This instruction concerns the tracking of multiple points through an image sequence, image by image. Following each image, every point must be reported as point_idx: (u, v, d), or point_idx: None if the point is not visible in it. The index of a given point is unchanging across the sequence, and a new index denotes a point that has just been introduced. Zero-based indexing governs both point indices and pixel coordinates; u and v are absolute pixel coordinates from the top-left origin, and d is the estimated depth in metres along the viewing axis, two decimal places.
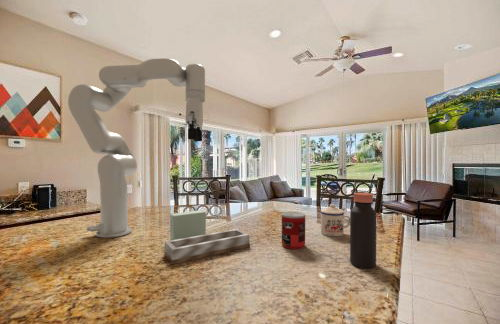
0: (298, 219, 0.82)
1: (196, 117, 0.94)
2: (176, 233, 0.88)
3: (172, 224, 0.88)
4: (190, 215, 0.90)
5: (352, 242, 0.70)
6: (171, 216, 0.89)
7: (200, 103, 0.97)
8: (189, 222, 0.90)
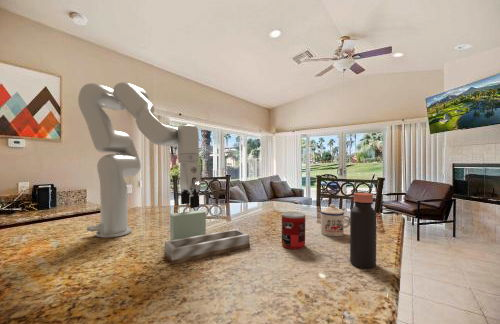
0: (298, 219, 0.82)
1: None
2: (176, 233, 0.88)
3: (172, 224, 0.88)
4: (190, 215, 0.90)
5: (352, 242, 0.70)
6: (171, 216, 0.89)
7: (180, 167, 0.92)
8: (189, 222, 0.90)
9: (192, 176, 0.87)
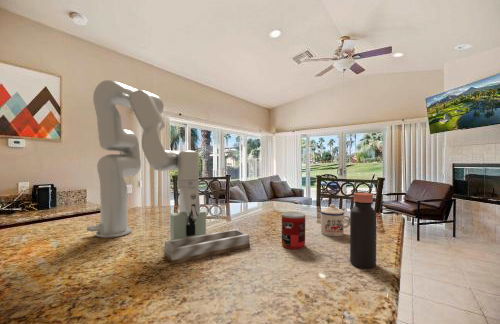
0: (298, 219, 0.82)
1: None
2: (176, 233, 0.88)
3: (172, 224, 0.88)
4: (190, 215, 0.90)
5: (352, 242, 0.70)
6: (171, 216, 0.89)
7: (180, 192, 0.92)
8: None
9: (192, 202, 0.88)
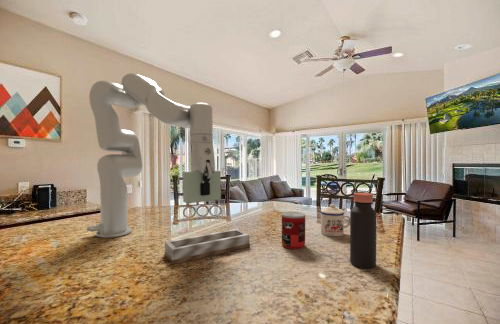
0: (298, 219, 0.82)
1: None
2: (190, 191, 0.80)
3: (185, 182, 0.81)
4: (204, 173, 0.83)
5: (352, 242, 0.70)
6: (184, 173, 0.82)
7: (193, 149, 0.85)
8: None
9: (206, 158, 0.80)
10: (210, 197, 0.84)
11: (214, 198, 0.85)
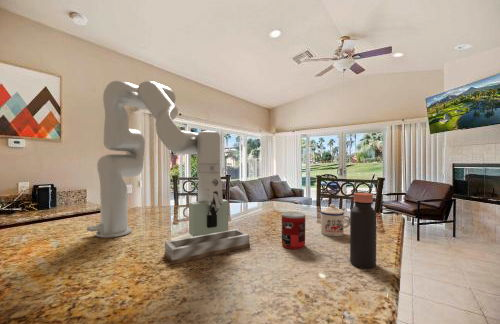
0: (298, 219, 0.82)
1: None
2: (196, 224, 0.77)
3: (192, 214, 0.78)
4: (211, 204, 0.80)
5: (352, 242, 0.70)
6: (190, 205, 0.79)
7: (199, 178, 0.81)
8: None
9: (214, 189, 0.77)
10: (217, 229, 0.81)
11: (221, 229, 0.82)
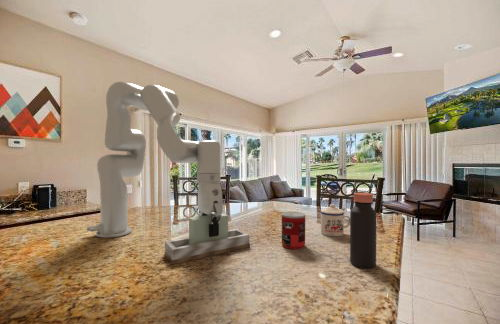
0: (298, 219, 0.82)
1: None
2: (196, 240, 0.77)
3: (192, 229, 0.78)
4: None
5: (352, 242, 0.70)
6: (190, 220, 0.79)
7: (200, 187, 0.81)
8: None
9: (214, 199, 0.77)
10: None
11: None
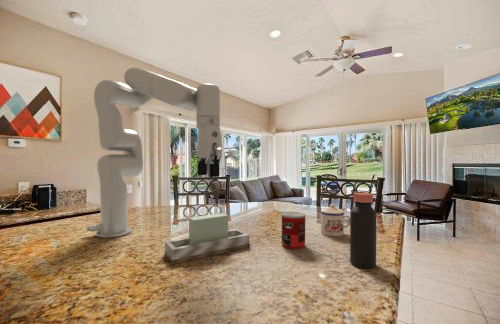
0: (298, 219, 0.82)
1: None
2: (196, 240, 0.77)
3: (192, 229, 0.78)
4: (211, 219, 0.80)
5: (352, 242, 0.70)
6: (190, 220, 0.79)
7: (199, 132, 0.81)
8: (210, 227, 0.80)
9: (213, 141, 0.77)
10: None
11: None
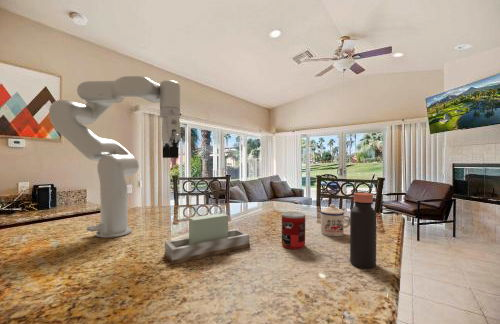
0: (298, 219, 0.82)
1: None
2: (196, 240, 0.77)
3: (192, 229, 0.78)
4: (211, 219, 0.80)
5: (352, 242, 0.70)
6: (190, 220, 0.79)
7: (162, 121, 0.97)
8: (210, 227, 0.80)
9: (172, 127, 0.93)
10: None
11: None
